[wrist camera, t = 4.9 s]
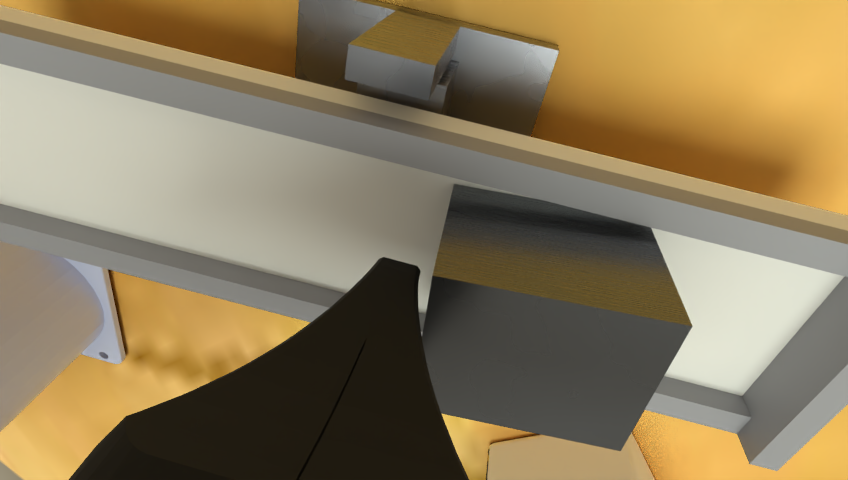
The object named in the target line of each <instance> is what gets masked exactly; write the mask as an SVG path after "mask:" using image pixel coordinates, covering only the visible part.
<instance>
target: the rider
mask: <svg viewBox="0 0 848 480" xmlns="http://www.w3.org/2000/svg"><path fill="white" fill-rule="evenodd" d="M691 328H692V324H691V321H690V319H689V317H688V314H687V312H686V309H685V307H684V305H683V302H682V300H681V298H680V295H679V293H678V291H677V288H676V286H675V283H674V281H673V279H672V276H671V274H670V272H669V269H668V267H667V264H666V262H665V260H664V257H663V255H662V253H661V250H660V248H659V245H658V243H657V241H656V238H655V236H654V234H653V231H652V229H651V227H647V226H643V225H639V224H635V223H631V222H627V221H623V220H619V219H615V218H611V217H607V216H603V215H599V214H595V213H591V212H587V211H583V210H579V209H575V208H571V207H567V206H563V205H559V204H555V203H551V202H548V201H544V200H539V199H534V198H528V197H523V196H517V195H512V194H506V193H501V192H495V191H490V190H485V189H479V188H474V187H468V186H463V185H457V184H454V186H453V190H452V194H451V198H450V203H449V207H448V211H447V215H446V220H445V224H444V228H443V232H442V237H441V241H440V245H439V249H438V254H437V258H436V262H435V266H434V271H433V275H432V281H431V287H430V293H429V298H428V304H427V310H426V316H425V322H424V328H423V334H422V342H423V347H424V352H425V357H426V362H427V367H428V371H429V375H430V379H431V382H432V386H433V389H434V393H435V396H436V399H437V402H438V405H439V408H440V411H441V413H442V414H447V415H451V416H456V417H461V418H466V419H470V420H475V421H480V422H484V423H489V424H494V425H499V426H503V427H508V428H513V429H517V430H522V431H527V432H532V433H536V434H541V435H546V436H551V437H555V438H560V439H565V440H569V441H574V442H579V443H584V444H588V445H593V446H598V447H602V448H607V449H612V450H617V451H621V450H622V448H623V446H624V445H625V443H626V441H627V440H628V438H629V436H630V434H631V433H632V431H633V429H634V427H635V426H636V424H637V422H638V420H639V419H640V417H641V415H642V413H643V412H644V410H645V408H646V406H647V405H648V403H649V401H650V400H651V398H652V396H653V394H654V393H655V391H656V389H657V387H658V386H659V384H660V382H661V380H662V379H663V377H664V375H665V373H666V372H667V370H668V368H669V366H670V365H671V363H672V361H673V359H674V358H675V356H676V354H677V353H678V351H679V349H680V347H681V346H682V344H683V342H684V340H685V339H686V337H687V335H688V333H689V332H690V330H691Z"/></svg>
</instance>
